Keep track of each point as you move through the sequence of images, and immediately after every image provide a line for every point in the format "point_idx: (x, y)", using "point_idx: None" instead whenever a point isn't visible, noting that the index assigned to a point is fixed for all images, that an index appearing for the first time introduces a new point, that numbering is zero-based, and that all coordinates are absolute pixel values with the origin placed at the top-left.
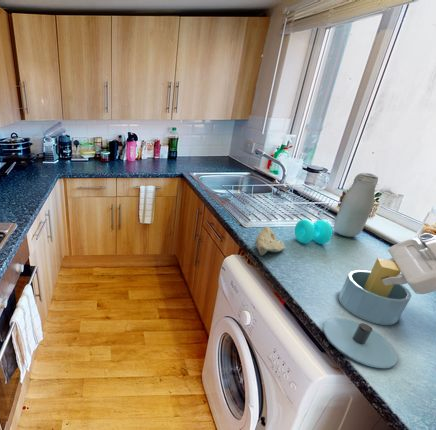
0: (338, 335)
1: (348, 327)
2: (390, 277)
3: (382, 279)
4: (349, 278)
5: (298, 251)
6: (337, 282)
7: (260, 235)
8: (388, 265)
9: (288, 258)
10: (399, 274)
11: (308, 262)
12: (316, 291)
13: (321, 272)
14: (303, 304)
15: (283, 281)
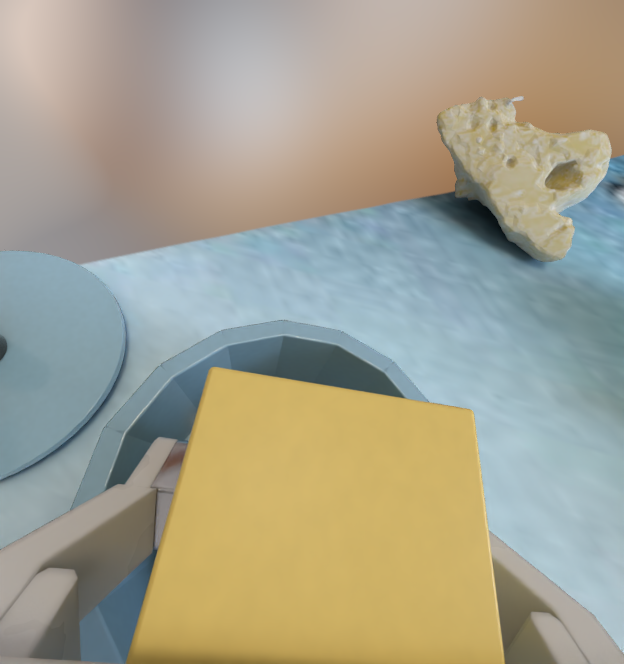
0: (7, 287)
1: (65, 338)
2: (133, 496)
3: (180, 442)
4: (294, 322)
5: (580, 320)
6: None
7: (504, 99)
8: (290, 490)
9: (497, 274)
10: (46, 613)
11: (518, 336)
12: (313, 311)
13: (470, 366)
14: (208, 249)
15: (327, 225)
